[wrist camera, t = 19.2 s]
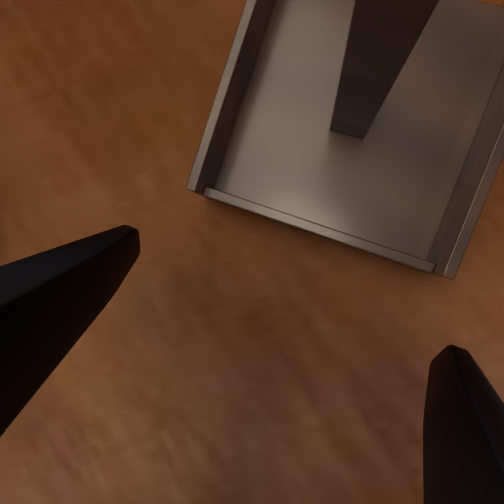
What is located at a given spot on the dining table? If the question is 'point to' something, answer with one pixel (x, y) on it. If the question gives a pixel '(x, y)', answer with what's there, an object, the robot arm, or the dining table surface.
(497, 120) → the brown tray with post
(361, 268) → the dining table surface
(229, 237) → the dining table surface
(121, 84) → the dining table surface
